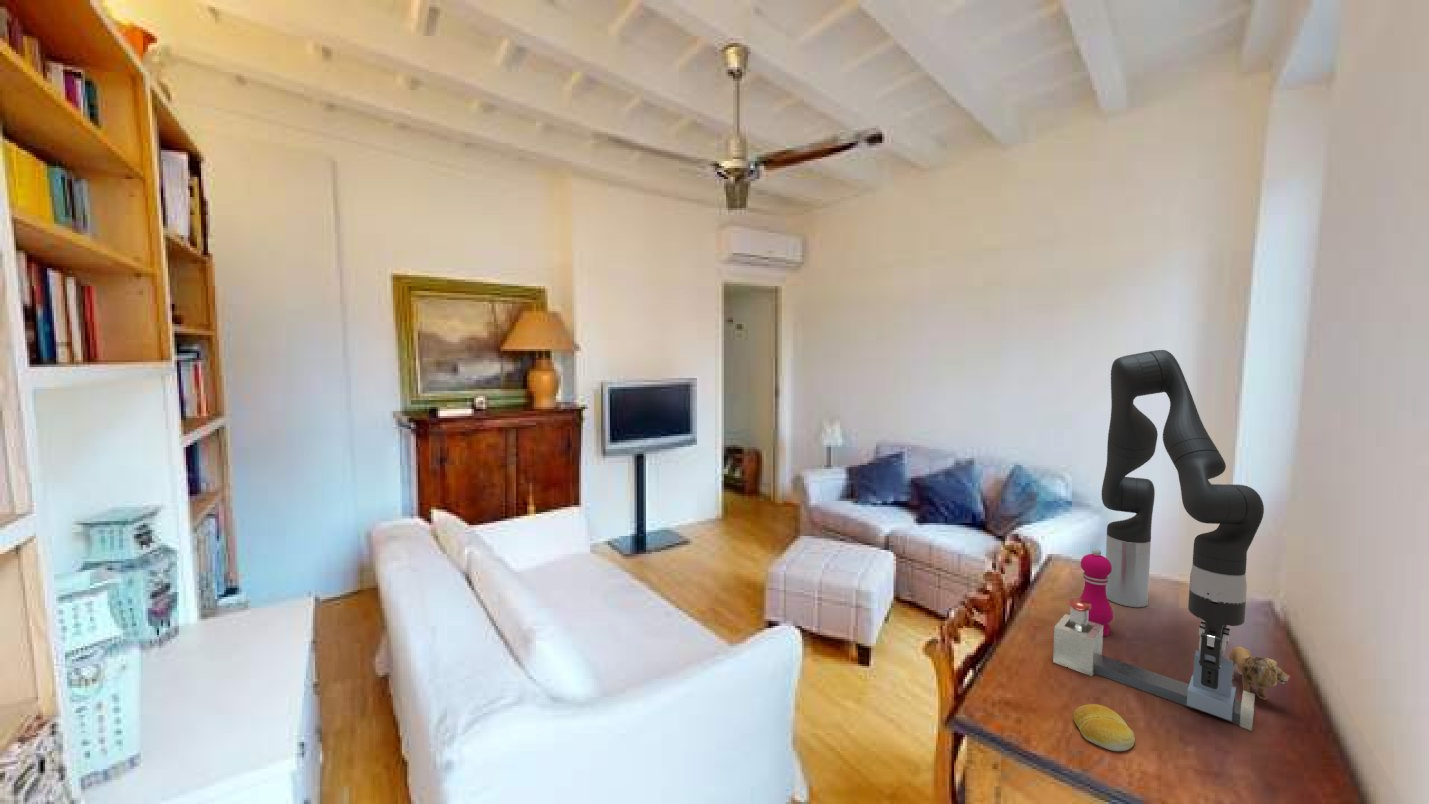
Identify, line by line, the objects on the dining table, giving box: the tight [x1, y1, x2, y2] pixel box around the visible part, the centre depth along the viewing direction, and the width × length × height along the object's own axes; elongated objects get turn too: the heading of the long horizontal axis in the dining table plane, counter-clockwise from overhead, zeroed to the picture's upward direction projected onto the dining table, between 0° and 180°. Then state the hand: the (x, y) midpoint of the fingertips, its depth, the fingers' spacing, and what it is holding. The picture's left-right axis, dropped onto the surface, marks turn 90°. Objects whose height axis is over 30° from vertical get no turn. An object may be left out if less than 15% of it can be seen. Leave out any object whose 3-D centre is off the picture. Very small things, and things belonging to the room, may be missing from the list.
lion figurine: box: [1228, 646, 1291, 701], centre depth 104 cm, size 15×5×9 cm, turn 164°
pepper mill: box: [1079, 548, 1114, 637], centre depth 126 cm, size 7×7×20 cm
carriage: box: [1187, 649, 1237, 721], centre depth 98 cm, size 7×6×9 cm
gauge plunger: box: [1068, 597, 1091, 632], centre depth 113 cm, size 4×4×6 cm
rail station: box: [1052, 613, 1256, 732], centre depth 105 cm, size 8×30×8 cm, turn 42°
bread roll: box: [1073, 703, 1136, 752], centre depth 92 cm, size 8×9×4 cm
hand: (1211, 676), depth 98 cm, fingers open, 8 cm apart
